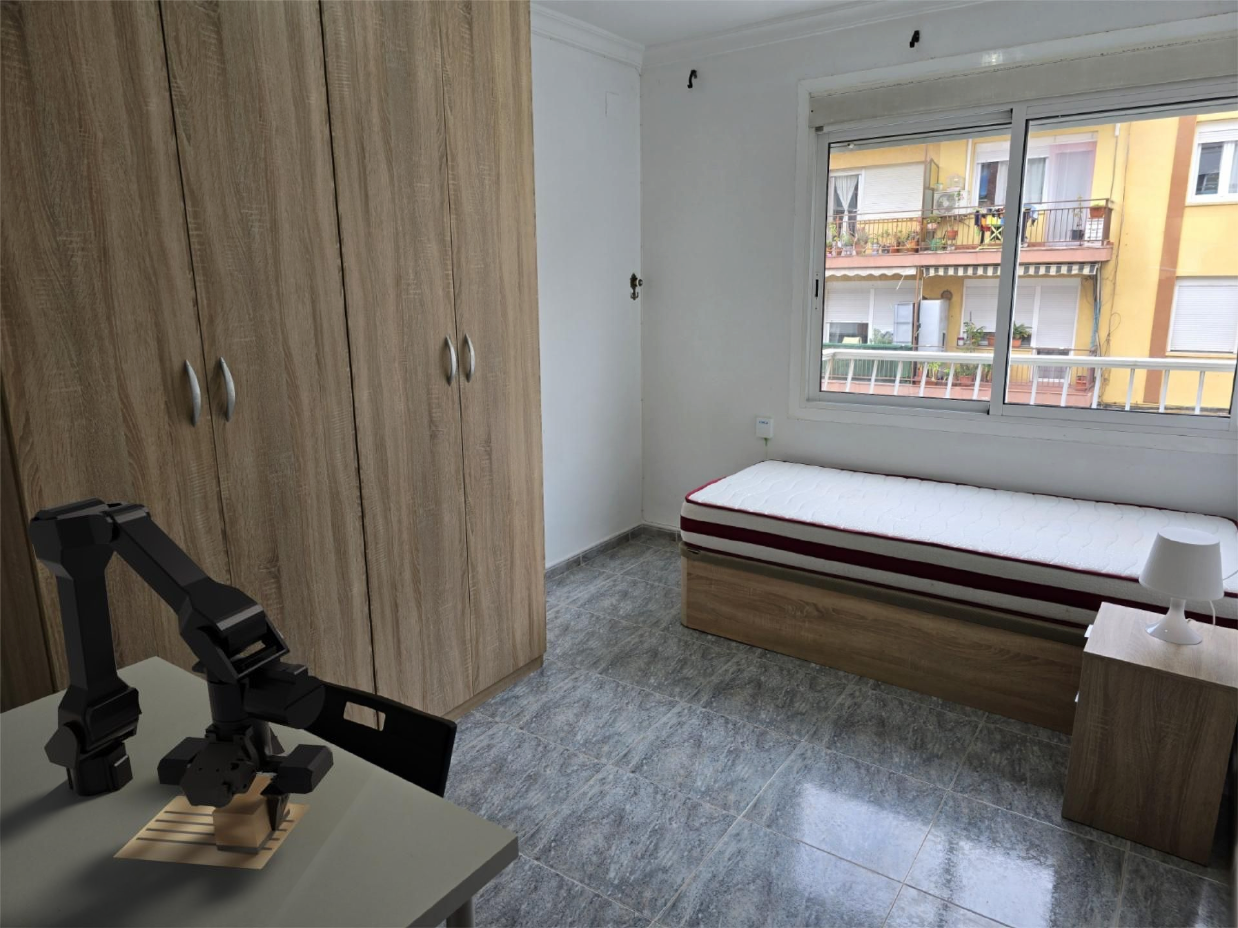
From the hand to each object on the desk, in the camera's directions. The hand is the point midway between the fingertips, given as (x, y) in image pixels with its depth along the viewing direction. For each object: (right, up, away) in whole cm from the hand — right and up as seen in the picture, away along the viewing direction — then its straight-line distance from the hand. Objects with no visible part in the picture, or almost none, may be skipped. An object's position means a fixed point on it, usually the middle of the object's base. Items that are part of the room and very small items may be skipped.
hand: (254, 827), depth 92 cm
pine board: (-5, -2, +1) cm, 5 cm away
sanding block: (0, -1, 0) cm, 0 cm away
